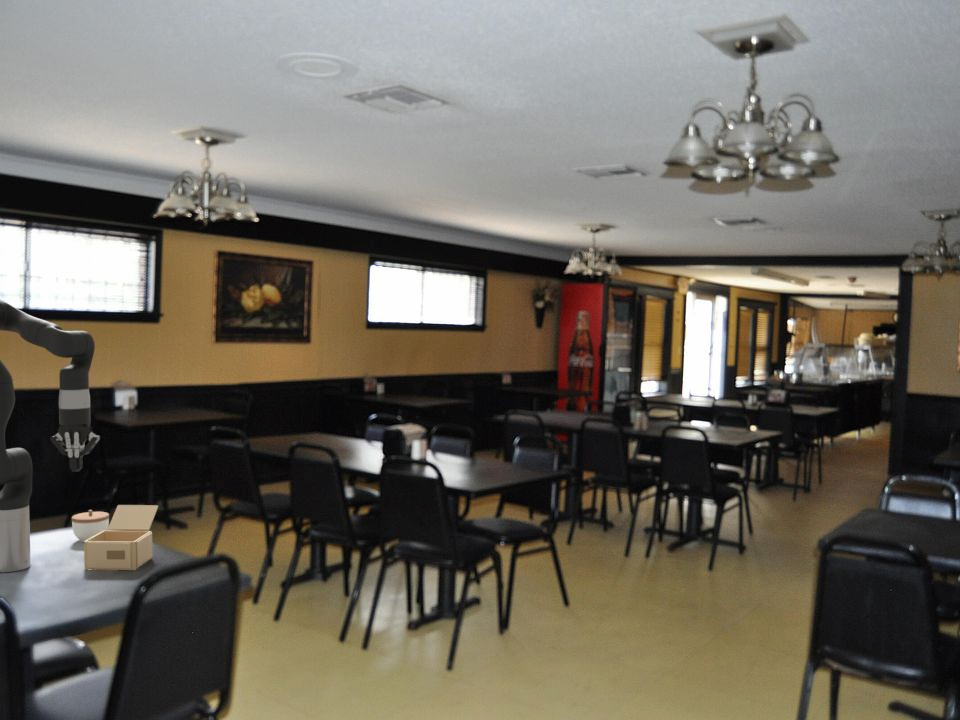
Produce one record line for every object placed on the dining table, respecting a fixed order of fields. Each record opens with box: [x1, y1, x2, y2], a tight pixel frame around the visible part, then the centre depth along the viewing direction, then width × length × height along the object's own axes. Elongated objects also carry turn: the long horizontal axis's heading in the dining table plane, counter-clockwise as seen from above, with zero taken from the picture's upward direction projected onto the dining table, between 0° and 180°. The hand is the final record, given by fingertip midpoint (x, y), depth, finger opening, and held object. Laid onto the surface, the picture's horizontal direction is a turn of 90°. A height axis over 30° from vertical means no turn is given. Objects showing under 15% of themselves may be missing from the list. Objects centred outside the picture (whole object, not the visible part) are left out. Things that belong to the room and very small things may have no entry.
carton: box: [83, 530, 153, 571], centre depth 243 cm, size 15×13×8 cm
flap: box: [107, 504, 159, 531], centre depth 253 cm, size 12×1×9 cm
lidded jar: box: [71, 509, 110, 543], centre depth 269 cm, size 11×11×9 cm
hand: (76, 470), depth 229 cm, fingers closed
